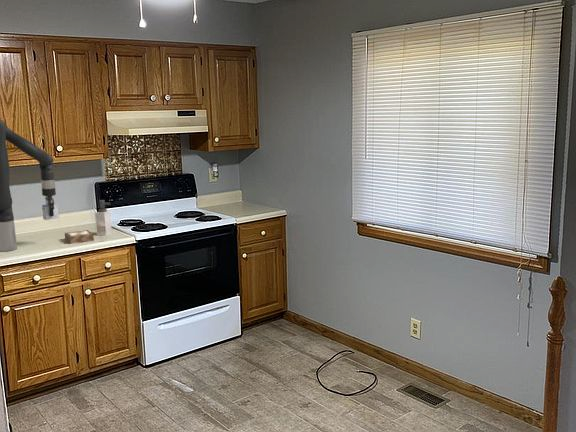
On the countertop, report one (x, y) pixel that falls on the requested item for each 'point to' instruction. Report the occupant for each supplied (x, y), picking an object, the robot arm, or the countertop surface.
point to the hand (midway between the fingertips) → (50, 215)
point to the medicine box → (46, 212)
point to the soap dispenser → (103, 220)
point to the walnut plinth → (79, 236)
